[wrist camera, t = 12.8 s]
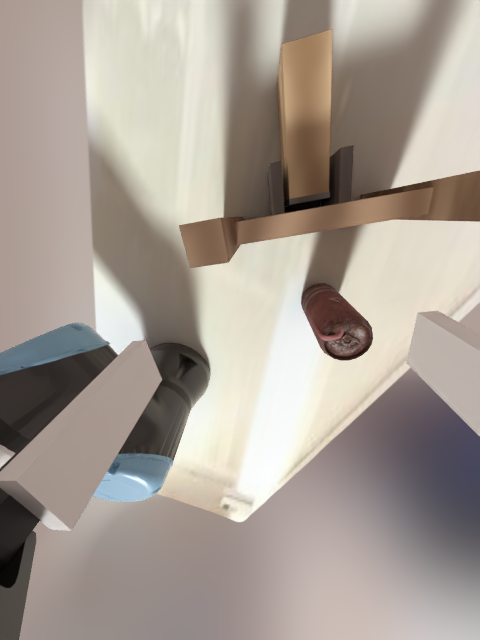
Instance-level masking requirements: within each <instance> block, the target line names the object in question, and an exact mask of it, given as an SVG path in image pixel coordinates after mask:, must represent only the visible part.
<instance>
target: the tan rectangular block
mask: <svg viewBox="0 0 480 640" xmlns="http://www.w3.org/2000/svg"><path fill="white" fill-rule="evenodd" d="M332 30H333V29H331V30H328V31H325V32H321V33H318V34H314V35H311V36H308V37H304V38H301V39H297V40H294V41H291V42H287V43H284V44H282V48H281V55H280V63H279V71H278V79H277V93H278V110H279V127H280V144H281V161H282V178H283V194H284V207H286V206H292V205H297V204H303V203H308V202H314V201H318V200H322V199H326V198H329V197H330V191H329V165H330V120H331V75H332Z"/></svg>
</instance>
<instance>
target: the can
mask: <svg viewBox="0 0 480 640" xmlns="http://www.w3.org/2000/svg"><path fill="white" fill-rule="evenodd" d="M301 305H302V308H303V310H304V313H305V315H306V317H307V319H308V321H309V323H310V326H311V328H312V330H313V332H314V334H315V336H316V339H317V341H318V343H319V345H320V347H321V349H322V350H323V351H324V353H326V354H327V355H329V356H331V357H332V358H334V359H338V360H352V359H356V358H358V357H360V356H362V355H363V354H364V353H365V352H366V351H368V349H369V348H370V346H371V344H372V340H373V334H372V327H371V326H370V324H369V323H368V321H367V320H366V319H365V318H364V317H363V316H362V315H361V314H360V313H358V312H357V311H356V310H355V309H354V308H353V307H352V306H351V305H350V304H349V303H348V302H347V301H346V300H345V299H344V298H343V297H342V296H341V295H340V294H339V293H338V292H337V291H336V290H335V289H334V288H333V287H331V286H330V285H327V284H317V285H314V286H312V287H310V288H309V289H307V290H306V292H305V293H304V294H303V297H302V301H301Z"/></svg>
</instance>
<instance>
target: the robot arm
mask: <svg viewBox="0 0 480 640" xmlns="http://www.w3.org/2000/svg"><path fill="white" fill-rule="evenodd" d="M108 344H110V343H109V342H108V341H105V340H104V339H103V338H102V337H101V336H100V335H98V334H97V333H96V332H95V331H94V330H93V329H92V328H91V327H90V326H88V325H86V324H83V323H72V324H68V325H66V326H63V327H60V328H58V329H55V330H53V331H50V332H48V333H45V334H43V335H40V336H38V337H36V338H33V339H31V340H29V341H26V342H24V343H22V344H19V345H17V346H15V347H13V348H10V349H8V350H6V351H4V352H1V353H0V640H19V636H20V630H21V625H22V618H23V613H24V608H25V602H26V596H27V590H28V584H29V579H30V573H31V568H32V562H33V556H34V550H35V545H36V533H35V532H34V531H32V530H33V529H34V527H35V526H36V525H37V523H38V522H39V521H41V522H42V523H43V524H45V525H46V526H47V527H48V528H49V529H51V530H70V531H71V530H72V529H73V528H74V526H75V524H76V522H77V521H78V519H79V518H80V516H81V514H82V513H83V511H84V509H85V508H86V506H87V504H88V503H89V501H90V499H91V498H92V496H93V497H97V498H101V499H105V500H111V501H120V502H131V501H140V500H144V499H147V498H150V497H151V496H153V495H155V494H156V493H157V492H158V491H159V490H160V489H161V487H162V485H163V483H164V481H165V479H166V476H167V474H168V471H169V469H170V467H171V466H172V465H173V460H174V457H175V454H176V451H177V448H178V446H179V443H180V440H181V437H182V434H183V431H184V428H185V425H186V422H187V419H188V416H189V413H190V410H191V408H192V407H193V406H194V405H195V403H196V402H197V401H198V400H199V398H200V397H201V396H202V395H203V394H204V393H205V391H206V389H207V387H208V383H209V380H210V370H209V367H208V365H207V363H206V361H205V360H204V359H203V357H202V356H201V355H199V354H198V353H197V352H196V351H194V350H193V349H191V348H189V347H186V346H184V345H180V344H174V343H166V344H161V345H158V346H156V347H154V348H152V349H151V350H150V349H149V347H148V344H147V342H146V340H142V341H133V342H132V343H131V344H130V345H129V346H128V347H127V348H126V349H125V350H124V351H123V352H122V353H120V354H119V355H118V354H117V353H116V352H115V351H114V350H113V349H112V348H111V347H110V346H109V345H108ZM407 364H408V365H409V366H410V367H411V368H412V369H413V370H414V371H415V372H416V373H417V374H418V375H419V376H420V377H421V378H422V379H423V380H424V381H425V382H426V383H427V384H428V385H429V386H430V387H431V388H432V389H433V390H434V391H435V392H436V393H437V394H438V395H439V396H440V397H441V398H442V399H443V400H444V401H445V402H446V403H447V404H448V405H449V406H450V407H451V408H452V409H453V410H454V411H455V412H456V413H457V414H458V415H459V416H460V417H461V418H462V419H463V420H464V421H465V422H466V423H467V424H468V425H469V426H470V427H471V428H472V429H473V430H474V431H475V432H476V433H477V434H478V435H479V436H480V334H479V333H478V332H476V331H474V330H472V329H470V328H468V327H466V326H465V325H463V324H461V323H459V322H457V321H455V320H453V319H451V318H450V317H448V316H446V315H444V314H442V313H440V312H438V311H432V312H422V313H418V314H417V319H416V323H415V327H414V332H413V336H412V341H411V345H410V349H409V354H408V358H407Z"/></svg>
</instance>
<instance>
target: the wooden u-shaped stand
mask: <svg viewBox="0 0 480 640" xmlns="http://www.w3.org/2000/svg"><path fill="white" fill-rule="evenodd" d="M353 147H354V145H353V146H348V147H344V148H341V149H339V150H338V151H337V152H336V153H335V154H333V155H332V156H331V157H330V165H329V191H330V197H329V198H326V199H322V200H321V205H320V207H315V208H309V209H304V210H298V211H292V212H287V213H285V211H284V195H283V179H282V163H281V161H279V162H275V163H270V166H269V172H268V186H269V197H270V209H271V215H270V216H265V217H259V218H254V219H248V220H243V217H227V218H217V219H211V220H206V221H201V222H195V223H190V224H184V225H179V227H180V231H181V235H182V239H183V243H184V246H185V250H186V254H187V258H188V261H189V265H190V268H194V267H201V266H207V265H214V264H221V263H227V262H229V261H230V260H231V258H232V257H233V255H234V254H235V252H236V251H237V249H238V248H239V246H240V245H241V244H246V243H252V242H258V241H265V240H271V239H277V238H283V237H289V236H295V235H301V234H307V233H314V232H320V231H326V230H332V229H338V228H344V227H350V226H357V225H363V224H369V223H375V222H381V221H387V220H393V219H400V220H441V221H480V171H475V172H471V173H466V174H461V175H456V176H451V177H446V178H442V179H437V180H432V181H427V182H422V183H418V184H413V185H408V186H403V187H398V188H393V189H389V190H384V191H379V192H374V193H369V194H364V195H361V199H359V200H354V201H350V198H351V181H352V164H353Z"/></svg>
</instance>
